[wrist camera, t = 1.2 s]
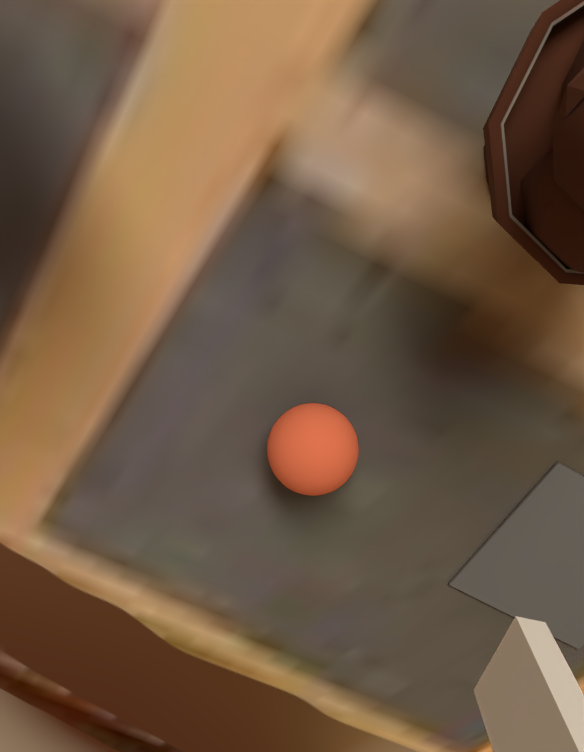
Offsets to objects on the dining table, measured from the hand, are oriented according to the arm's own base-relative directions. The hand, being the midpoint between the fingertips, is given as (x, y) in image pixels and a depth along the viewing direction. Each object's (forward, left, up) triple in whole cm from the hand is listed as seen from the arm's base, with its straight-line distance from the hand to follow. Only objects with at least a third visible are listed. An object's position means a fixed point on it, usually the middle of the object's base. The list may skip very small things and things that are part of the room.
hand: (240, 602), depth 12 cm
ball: (+4, -4, -17) cm, 18 cm away
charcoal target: (+25, -4, -20) cm, 32 cm away
